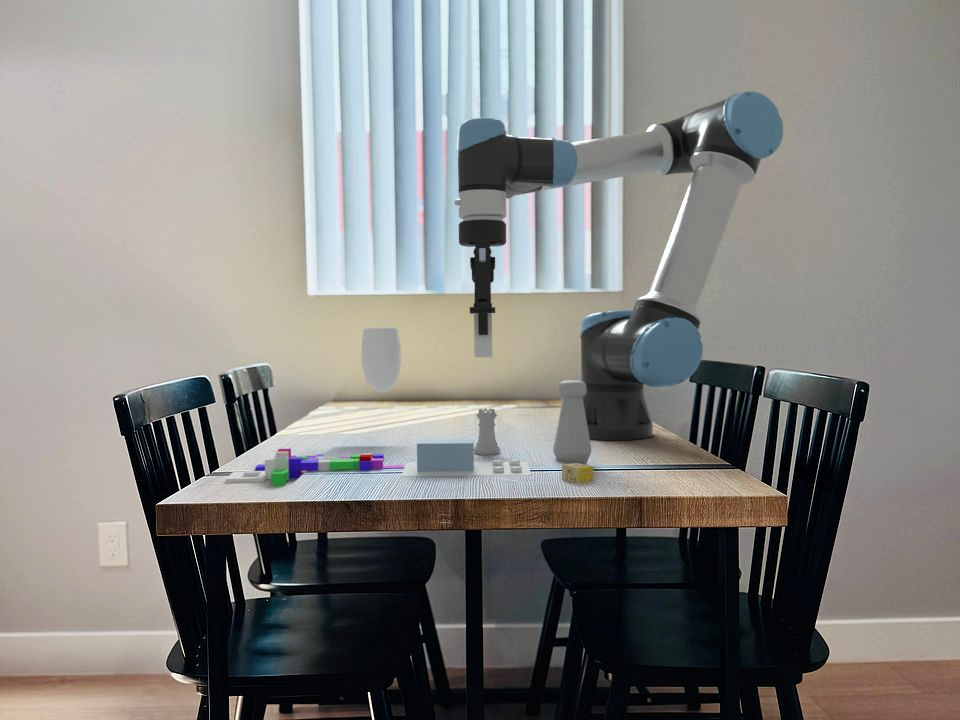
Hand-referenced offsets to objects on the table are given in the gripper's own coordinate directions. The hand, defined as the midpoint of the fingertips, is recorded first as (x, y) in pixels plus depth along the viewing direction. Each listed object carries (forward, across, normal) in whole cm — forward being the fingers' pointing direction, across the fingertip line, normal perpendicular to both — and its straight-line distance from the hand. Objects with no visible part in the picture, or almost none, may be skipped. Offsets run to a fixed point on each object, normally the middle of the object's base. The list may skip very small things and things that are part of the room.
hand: (483, 354), depth 128 cm
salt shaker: (+17, +6, +13) cm, 22 cm away
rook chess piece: (+17, 0, 0) cm, 17 cm away
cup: (+17, -18, -19) cm, 31 cm away
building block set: (+17, +9, -25) cm, 31 cm away
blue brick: (+16, +13, -6) cm, 21 cm away
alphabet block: (+17, +21, +13) cm, 30 cm away
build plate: (+17, +13, -2) cm, 21 cm away
